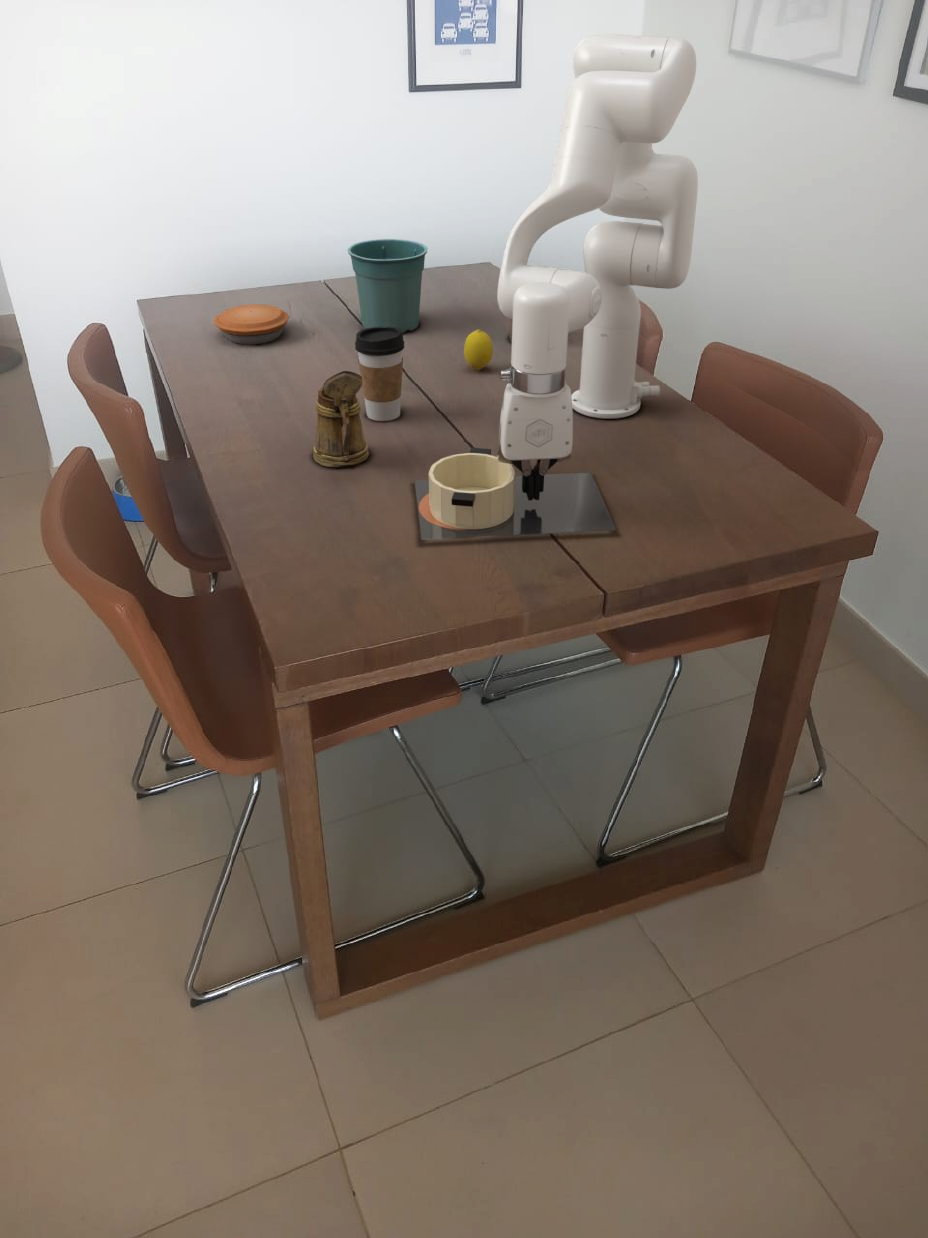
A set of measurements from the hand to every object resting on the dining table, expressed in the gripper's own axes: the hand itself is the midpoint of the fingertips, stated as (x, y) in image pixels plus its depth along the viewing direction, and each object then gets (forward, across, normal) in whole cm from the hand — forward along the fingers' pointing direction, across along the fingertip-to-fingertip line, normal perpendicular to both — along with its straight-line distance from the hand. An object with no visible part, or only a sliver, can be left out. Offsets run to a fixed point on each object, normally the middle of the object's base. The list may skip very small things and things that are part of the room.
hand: (532, 495), depth 148 cm
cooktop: (+2, -3, +1) cm, 4 cm away
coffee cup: (+2, -21, +37) cm, 42 cm away
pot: (+2, -9, 0) cm, 9 cm away
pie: (+2, -46, +80) cm, 93 cm away
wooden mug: (+3, -28, +19) cm, 34 cm away
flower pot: (+2, -17, +83) cm, 85 cm away
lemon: (+2, -1, +56) cm, 56 cm away
